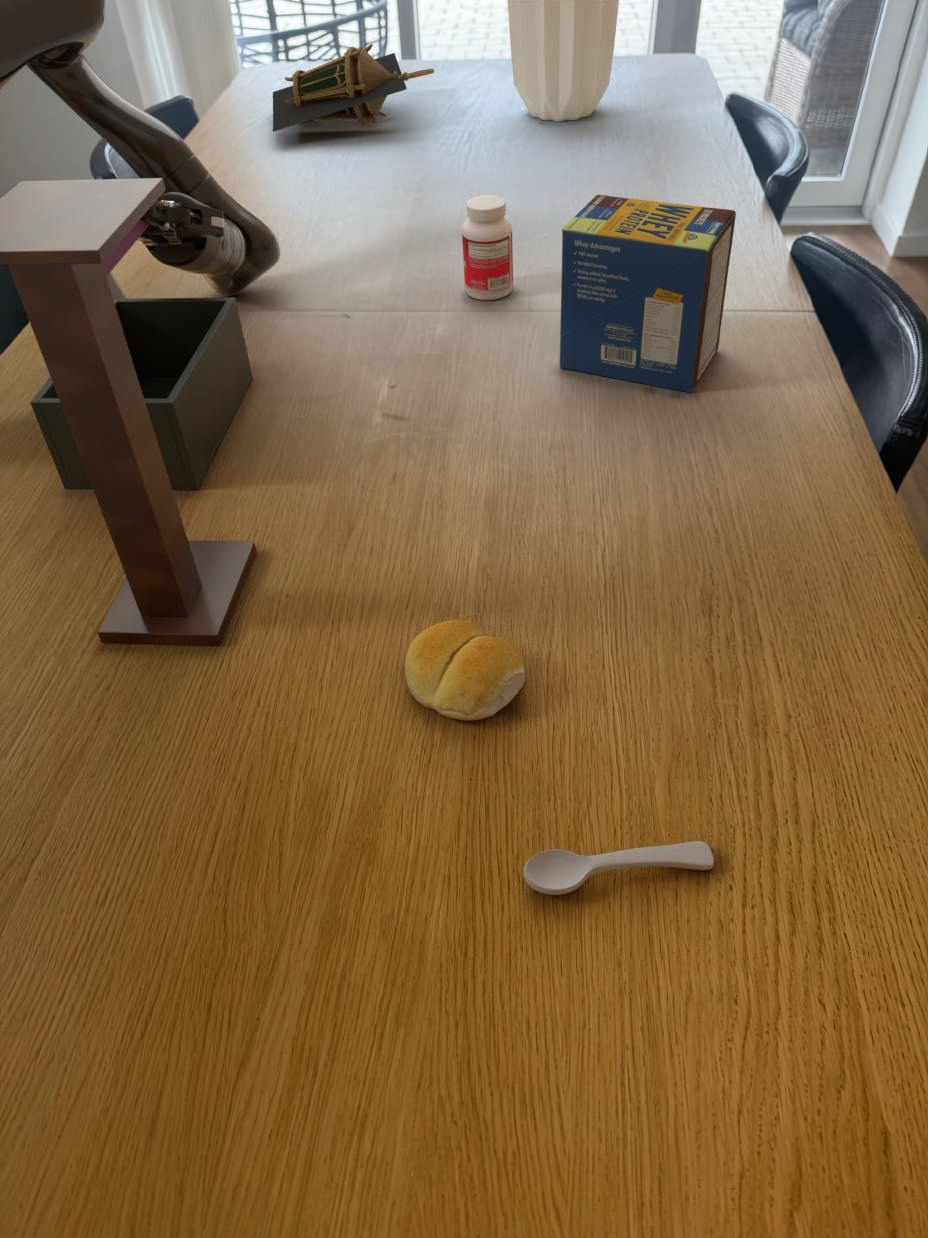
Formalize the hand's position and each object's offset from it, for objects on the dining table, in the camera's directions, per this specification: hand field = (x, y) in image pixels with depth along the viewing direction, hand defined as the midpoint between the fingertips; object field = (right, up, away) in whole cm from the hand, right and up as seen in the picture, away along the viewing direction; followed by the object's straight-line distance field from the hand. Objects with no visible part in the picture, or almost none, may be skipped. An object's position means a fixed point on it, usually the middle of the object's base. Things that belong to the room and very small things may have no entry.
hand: (121, 207), depth 91 cm
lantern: (+12, +53, +88) cm, 104 cm away
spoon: (+42, -55, -30) cm, 75 cm away
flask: (-12, -1, +31) cm, 33 cm away
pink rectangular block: (0, -5, -2) cm, 5 cm away
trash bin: (+1, -19, +11) cm, 22 cm away
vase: (+50, +54, +86) cm, 113 cm away
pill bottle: (+35, +3, +32) cm, 48 cm away
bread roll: (+32, -44, -17) cm, 57 cm away
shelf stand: (+8, -37, -9) cm, 39 cm away
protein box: (+52, -10, +17) cm, 55 cm away
